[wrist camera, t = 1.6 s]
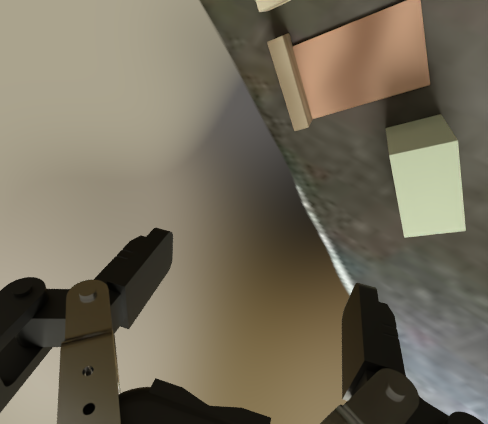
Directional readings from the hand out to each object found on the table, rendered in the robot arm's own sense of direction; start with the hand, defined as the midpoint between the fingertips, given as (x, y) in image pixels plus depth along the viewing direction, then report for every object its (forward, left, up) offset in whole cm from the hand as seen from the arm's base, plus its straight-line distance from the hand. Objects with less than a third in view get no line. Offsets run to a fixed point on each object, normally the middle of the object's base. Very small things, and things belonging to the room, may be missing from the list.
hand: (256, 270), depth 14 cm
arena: (-4, -6, -19) cm, 20 cm away
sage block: (-8, +5, -19) cm, 21 cm away
